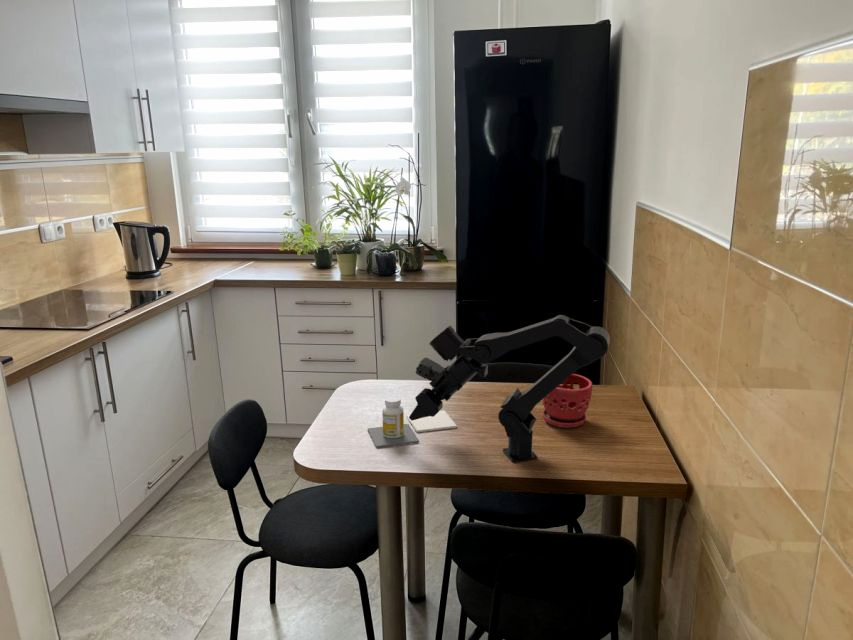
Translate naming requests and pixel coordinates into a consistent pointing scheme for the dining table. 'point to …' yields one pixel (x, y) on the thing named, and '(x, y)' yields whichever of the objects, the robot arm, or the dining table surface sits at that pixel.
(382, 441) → the slate coaster
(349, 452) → the dining table surface
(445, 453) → the dining table surface
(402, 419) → the supplement bottle
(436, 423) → the offwhite coaster
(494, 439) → the dining table surface
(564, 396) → the plant pot
